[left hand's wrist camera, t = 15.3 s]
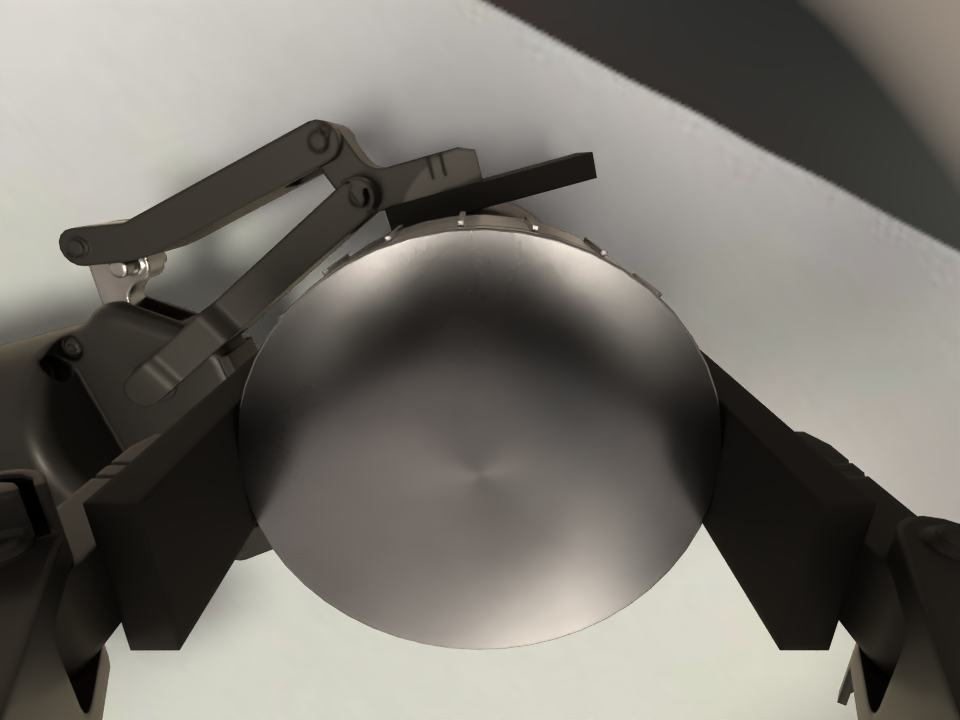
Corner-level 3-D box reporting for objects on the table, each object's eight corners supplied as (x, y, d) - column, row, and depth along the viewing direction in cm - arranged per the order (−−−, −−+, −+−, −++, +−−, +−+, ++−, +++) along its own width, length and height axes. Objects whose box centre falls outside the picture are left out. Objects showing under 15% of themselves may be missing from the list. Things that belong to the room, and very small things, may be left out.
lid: (230, 508, 13) (183, 573, 11) (350, 129, 10) (315, 121, 8) (568, 621, 14) (582, 698, 12) (766, 318, 11) (830, 354, 9)
